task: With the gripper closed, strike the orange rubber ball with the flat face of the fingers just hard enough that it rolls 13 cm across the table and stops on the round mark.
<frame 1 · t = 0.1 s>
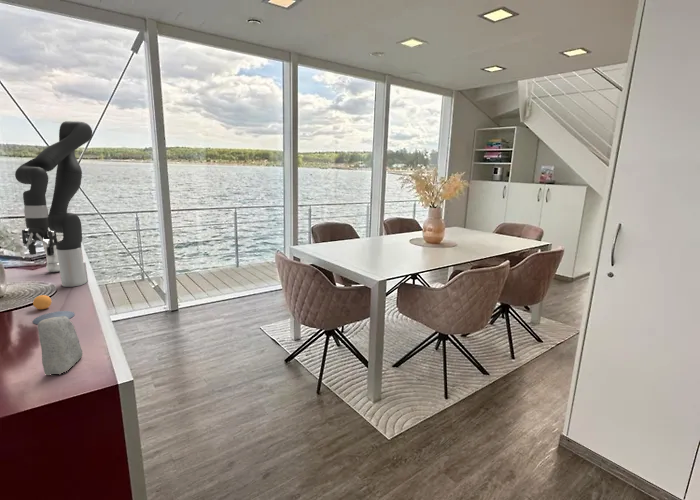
hand: (41, 254, 156), 17 cm above the table, tool pointing down, fingers open, 8 cm apart
plastic bottle: (55, 272, 191), on the table
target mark: (54, 317, 136), on the table
ball: (42, 302, 143), on the table
decorative stone: (65, 366, 105), on the table
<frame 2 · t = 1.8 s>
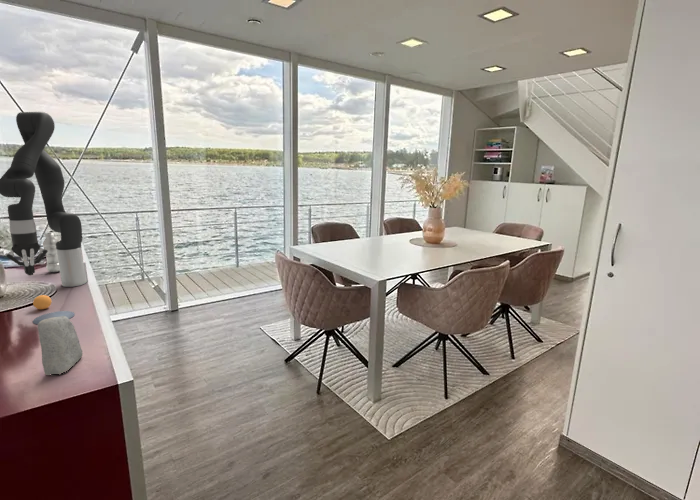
hand: (30, 274, 146), 12 cm above the table, tool pointing down, fingers closed
nothing on the table moved.
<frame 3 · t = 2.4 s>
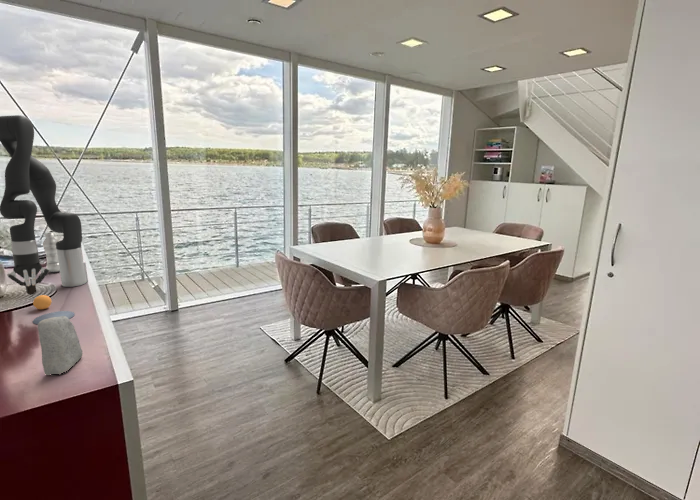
hand: (31, 294, 148), 4 cm above the table, tool pointing down, fingers closed
nothing on the table moved.
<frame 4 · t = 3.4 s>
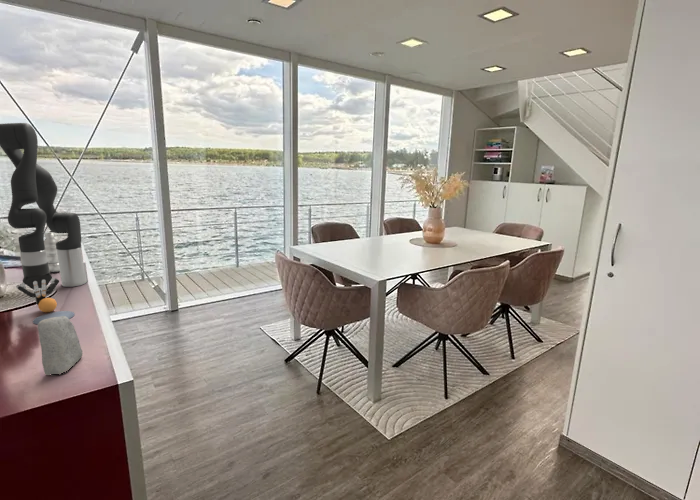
hand: (41, 305, 142), 2 cm above the table, tool pointing down, fingers closed
ball: (47, 305, 140), on the table, touching gripper
everything else where it was.
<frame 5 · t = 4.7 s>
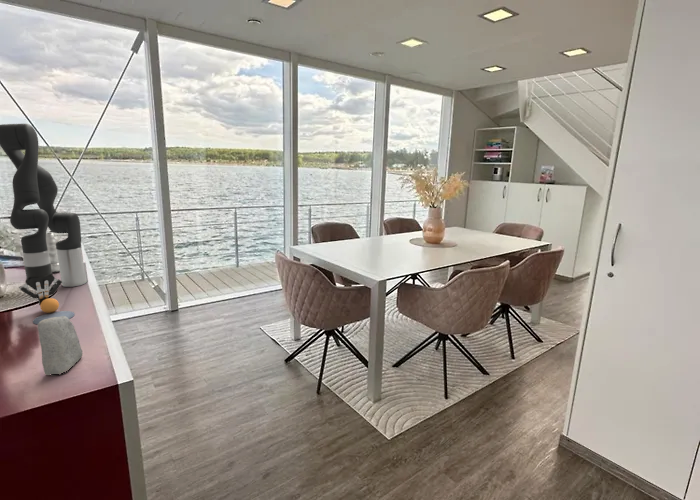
hand: (44, 306, 142), 2 cm above the table, tool pointing down, fingers closed
ball: (49, 305, 140), on the table, touching gripper
everything else where it was.
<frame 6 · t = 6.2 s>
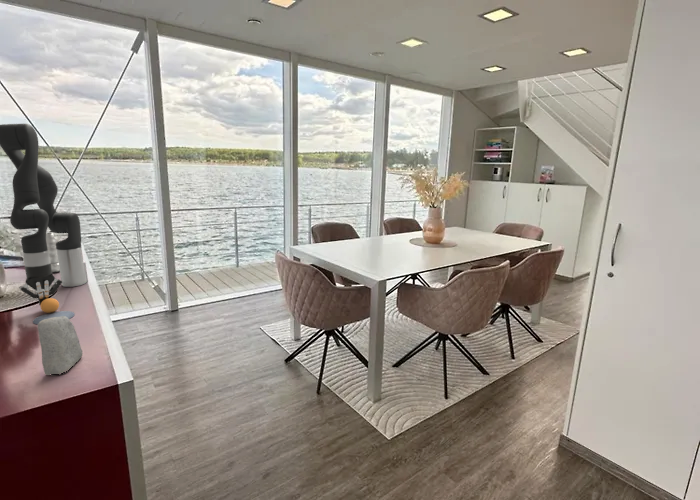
hand: (44, 306, 142), 2 cm above the table, tool pointing down, fingers closed
nothing on the table moved.
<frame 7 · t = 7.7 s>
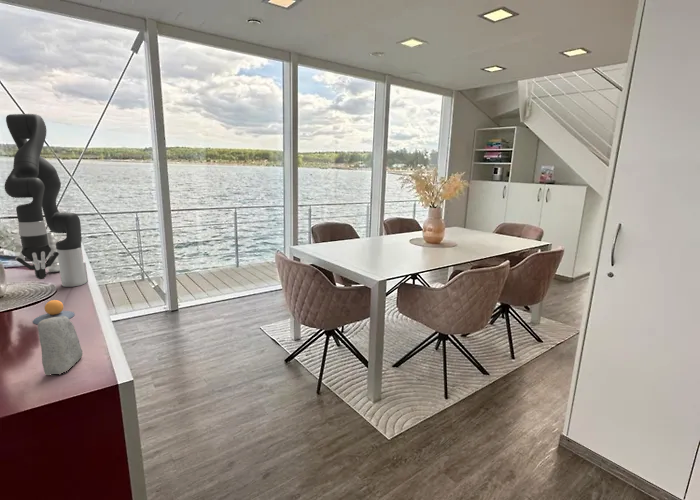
hand: (41, 278, 139), 13 cm above the table, tool pointing down, fingers closed
ball: (54, 307, 138), on the table
everything else where it was.
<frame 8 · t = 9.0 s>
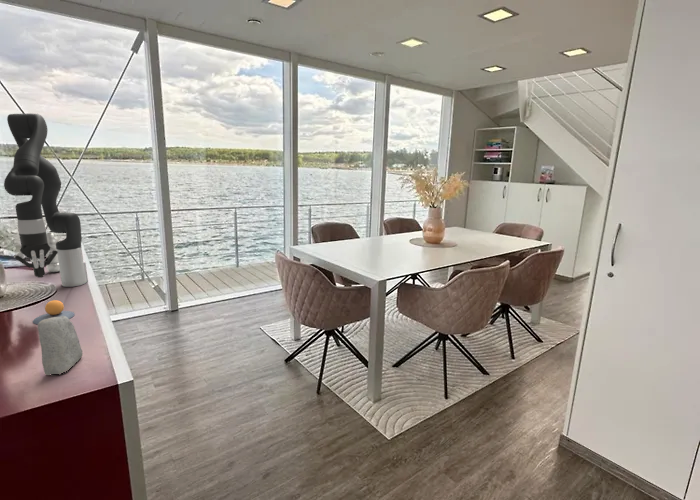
hand: (40, 277, 139), 13 cm above the table, tool pointing down, fingers closed
nothing on the table moved.
at the end: ball 3.4 cm from the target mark (horizontally); ball at rest at the end (0.0 cm/s); ball moved 9.9 cm from its start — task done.
